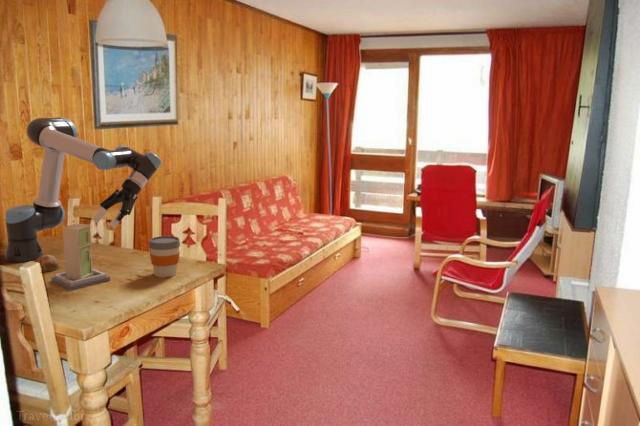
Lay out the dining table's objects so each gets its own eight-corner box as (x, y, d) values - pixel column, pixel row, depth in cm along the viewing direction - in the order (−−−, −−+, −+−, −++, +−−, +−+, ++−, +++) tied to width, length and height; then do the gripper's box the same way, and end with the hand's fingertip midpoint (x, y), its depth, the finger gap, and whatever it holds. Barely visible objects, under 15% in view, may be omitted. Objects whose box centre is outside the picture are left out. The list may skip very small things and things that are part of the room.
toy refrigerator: (81, 280, 199) (78, 229, 195) (65, 279, 201) (61, 227, 197) (95, 274, 207) (91, 224, 203) (79, 273, 208) (75, 223, 204)
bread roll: (59, 278, 217) (66, 260, 218) (35, 273, 210) (42, 254, 211) (50, 273, 224) (57, 255, 225) (26, 267, 216) (34, 250, 217)
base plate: (51, 280, 203) (50, 274, 202) (90, 271, 215) (89, 265, 215) (70, 290, 193) (69, 283, 193) (110, 280, 205) (109, 273, 205)
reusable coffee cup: (186, 274, 215) (185, 240, 212) (157, 280, 206) (156, 245, 203) (173, 267, 224) (171, 234, 221) (145, 272, 216) (143, 238, 213)
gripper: (156, 192, 211) (125, 234, 203) (124, 186, 227) (94, 224, 218) (144, 181, 206) (112, 223, 198) (112, 175, 222) (81, 214, 213)
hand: (102, 224), depth 208 cm, fingers open, 13 cm apart
